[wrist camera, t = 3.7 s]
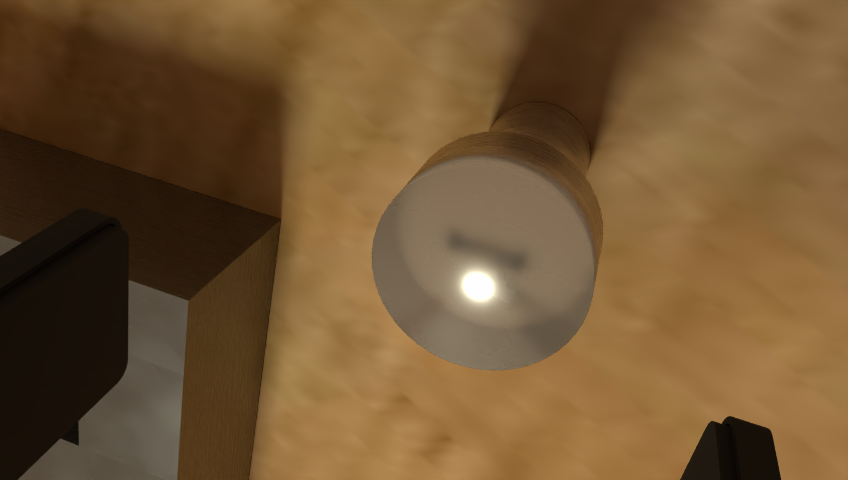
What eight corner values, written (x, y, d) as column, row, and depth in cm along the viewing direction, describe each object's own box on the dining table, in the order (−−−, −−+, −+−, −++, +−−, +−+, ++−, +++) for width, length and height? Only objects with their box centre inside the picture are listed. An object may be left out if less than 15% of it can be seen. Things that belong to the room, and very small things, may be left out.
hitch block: (280, 219, 27) (188, 300, 22) (228, 642, 38) (159, 762, 33) (-9, 126, 29) (-158, 180, 24) (22, 554, 40) (-75, 654, 35)
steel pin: (640, 99, 22) (625, 207, 15) (590, 244, 24) (557, 398, 17) (480, 56, 23) (392, 138, 16) (446, 200, 25) (356, 329, 18)
